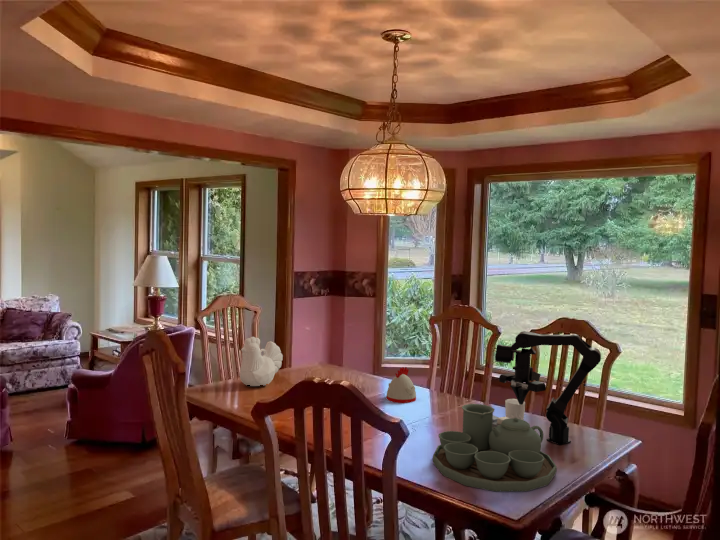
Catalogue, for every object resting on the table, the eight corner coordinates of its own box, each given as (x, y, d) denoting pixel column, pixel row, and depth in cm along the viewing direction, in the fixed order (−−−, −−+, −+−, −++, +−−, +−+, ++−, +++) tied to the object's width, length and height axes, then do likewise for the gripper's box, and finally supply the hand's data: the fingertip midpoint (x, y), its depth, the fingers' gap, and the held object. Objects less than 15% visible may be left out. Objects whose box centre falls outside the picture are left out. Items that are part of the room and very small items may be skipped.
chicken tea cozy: (422, 399, 279) (423, 368, 278) (401, 404, 270) (402, 372, 269) (400, 393, 290) (401, 362, 289) (380, 398, 280) (381, 366, 280)
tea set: (409, 466, 199) (411, 418, 198) (477, 439, 227) (478, 396, 226) (515, 507, 171) (517, 450, 170) (577, 470, 199) (579, 421, 198)
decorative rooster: (246, 391, 286) (247, 340, 284) (233, 384, 298) (233, 335, 297) (292, 385, 300) (293, 336, 299) (277, 378, 313) (278, 331, 312)
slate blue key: (500, 425, 235) (501, 418, 234) (493, 427, 232) (493, 419, 232) (493, 422, 238) (493, 415, 238) (486, 424, 236) (486, 416, 235)
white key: (512, 426, 230) (512, 419, 229) (504, 428, 227) (505, 420, 227) (504, 424, 233) (504, 416, 233) (497, 425, 231) (497, 418, 231)
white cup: (502, 426, 243) (503, 402, 242) (507, 421, 250) (508, 397, 249) (521, 429, 239) (522, 405, 238) (526, 424, 246) (527, 400, 245)
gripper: (556, 367, 227) (554, 407, 228) (518, 357, 242) (516, 395, 243) (536, 370, 220) (535, 411, 221) (498, 360, 236) (497, 399, 237)
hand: (521, 404), depth 231 cm, fingers closed
